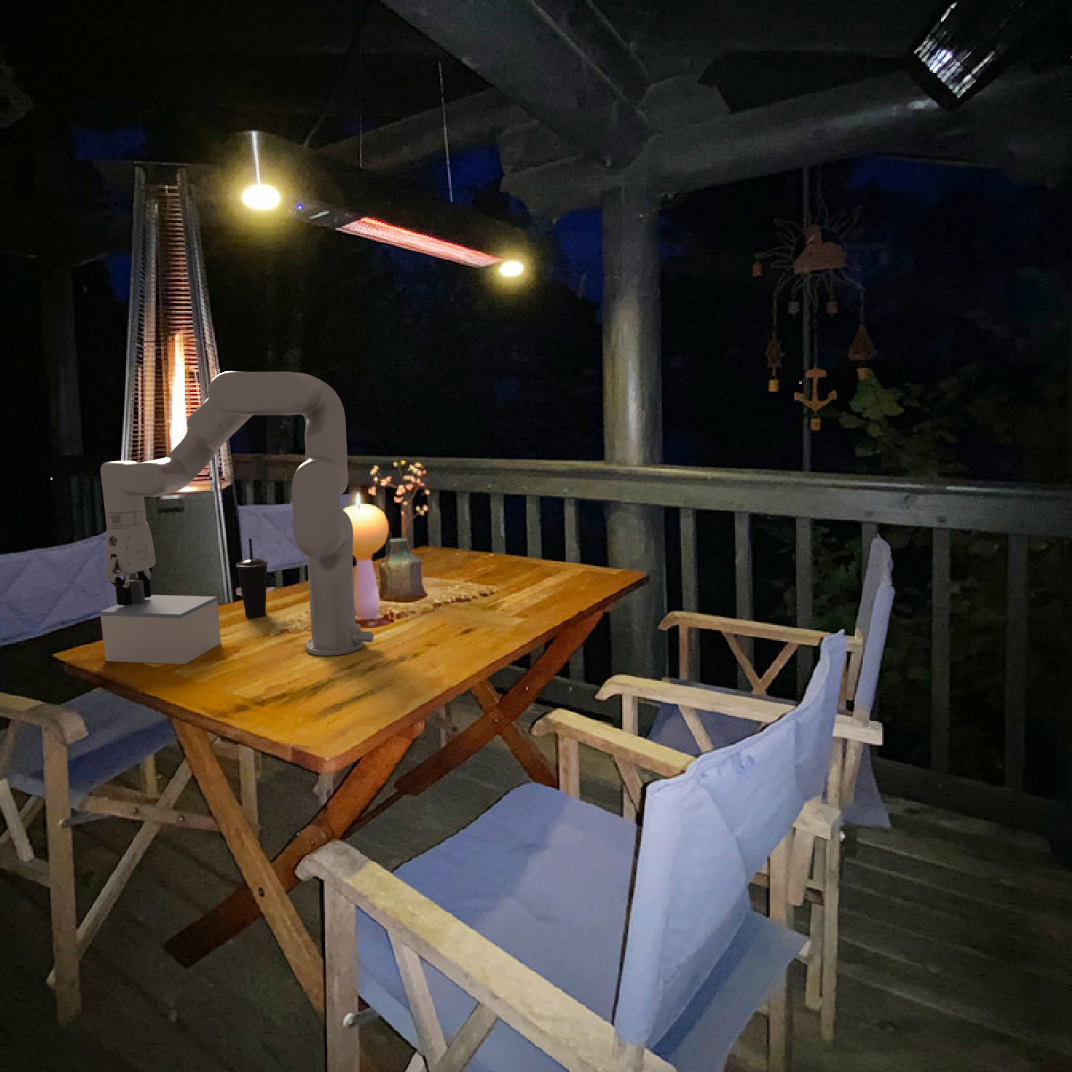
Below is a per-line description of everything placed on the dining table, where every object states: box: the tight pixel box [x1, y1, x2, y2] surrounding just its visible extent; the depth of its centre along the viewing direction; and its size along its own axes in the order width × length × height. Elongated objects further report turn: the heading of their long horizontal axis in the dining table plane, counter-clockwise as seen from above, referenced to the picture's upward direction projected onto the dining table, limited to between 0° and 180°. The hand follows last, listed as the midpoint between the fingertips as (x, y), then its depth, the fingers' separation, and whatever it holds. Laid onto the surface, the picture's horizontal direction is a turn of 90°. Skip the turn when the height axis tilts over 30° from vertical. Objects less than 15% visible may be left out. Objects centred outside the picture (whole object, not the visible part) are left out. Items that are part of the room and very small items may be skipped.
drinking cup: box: [235, 538, 269, 619], centre depth 190 cm, size 8×8×20 cm
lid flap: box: [99, 579, 218, 618], centre depth 162 cm, size 18×14×6 cm
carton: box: [100, 600, 222, 665], centre depth 164 cm, size 18×14×10 cm
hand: (134, 600), depth 163 cm, fingers open, 5 cm apart
